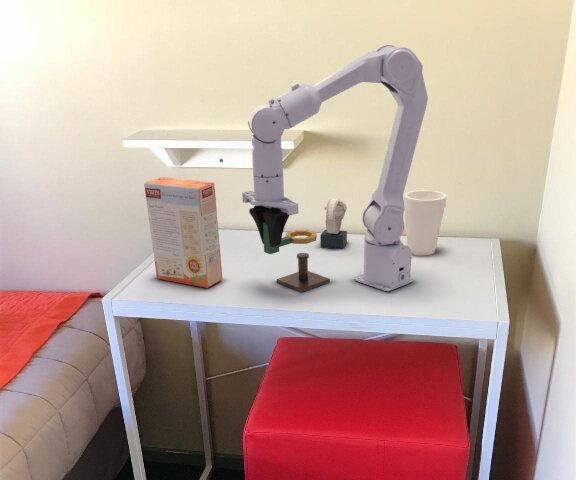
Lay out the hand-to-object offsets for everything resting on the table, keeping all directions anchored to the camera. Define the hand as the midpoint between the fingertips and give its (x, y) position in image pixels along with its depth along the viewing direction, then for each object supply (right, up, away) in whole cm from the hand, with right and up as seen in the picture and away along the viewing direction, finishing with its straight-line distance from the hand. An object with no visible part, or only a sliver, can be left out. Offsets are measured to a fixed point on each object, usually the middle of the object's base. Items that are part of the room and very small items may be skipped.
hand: (271, 244), depth 132 cm
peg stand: (+7, -6, +8) cm, 12 cm away
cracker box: (-18, -6, +12) cm, 22 cm away
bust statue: (+14, +6, +29) cm, 33 cm away
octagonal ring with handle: (+4, 0, +4) cm, 5 cm away
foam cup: (+35, +3, +23) cm, 42 cm away
